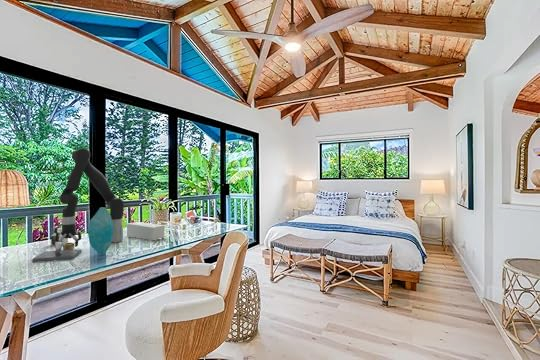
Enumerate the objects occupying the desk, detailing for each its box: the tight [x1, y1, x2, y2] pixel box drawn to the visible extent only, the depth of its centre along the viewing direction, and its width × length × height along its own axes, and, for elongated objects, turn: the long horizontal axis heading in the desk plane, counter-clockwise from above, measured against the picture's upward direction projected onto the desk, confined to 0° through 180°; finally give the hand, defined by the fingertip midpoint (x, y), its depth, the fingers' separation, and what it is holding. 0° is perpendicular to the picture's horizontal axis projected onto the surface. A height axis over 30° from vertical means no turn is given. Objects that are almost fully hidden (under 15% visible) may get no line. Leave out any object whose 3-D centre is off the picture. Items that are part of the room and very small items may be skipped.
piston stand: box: [31, 242, 82, 263], centre depth 172 cm, size 20×16×9 cm
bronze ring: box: [62, 242, 75, 250], centre depth 189 cm, size 6×6×4 cm
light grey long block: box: [126, 221, 165, 241], centre depth 229 cm, size 32×11×11 cm, turn 62°
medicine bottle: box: [50, 226, 69, 246], centre depth 203 cm, size 7×7×12 cm
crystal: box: [87, 207, 114, 256], centre depth 179 cm, size 12×14×30 cm
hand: (68, 247), depth 189 cm, fingers open, 8 cm apart
